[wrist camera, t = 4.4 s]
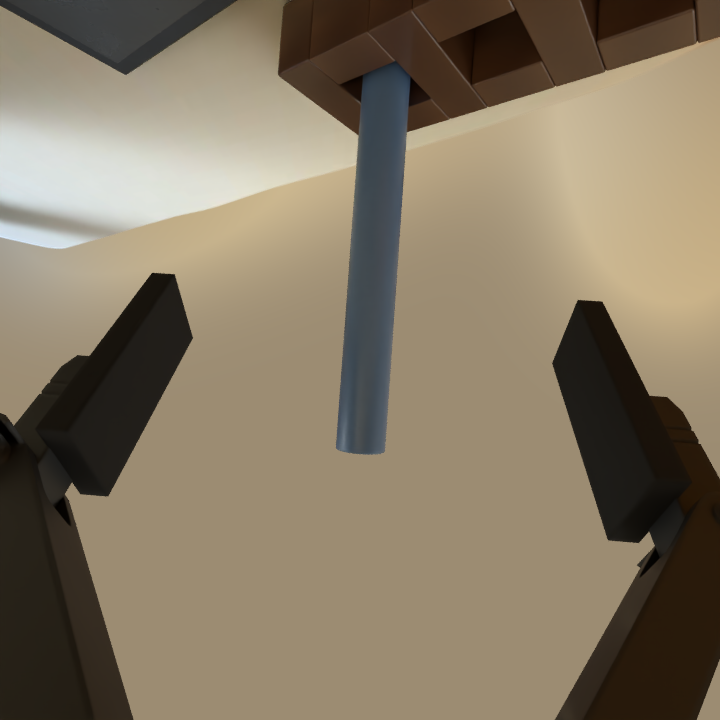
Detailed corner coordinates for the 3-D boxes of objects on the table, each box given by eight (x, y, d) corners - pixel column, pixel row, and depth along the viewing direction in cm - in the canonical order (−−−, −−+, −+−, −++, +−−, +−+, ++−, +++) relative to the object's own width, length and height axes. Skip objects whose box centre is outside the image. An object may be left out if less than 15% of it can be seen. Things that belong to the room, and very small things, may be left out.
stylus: (384, 46, 21) (355, 445, 21) (357, 17, 20) (325, 448, 19) (422, 29, 20) (394, 451, 20) (397, -3, 19) (365, 456, 18)
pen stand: (373, 87, 25) (368, 144, 24) (282, 5, 19) (276, 75, 19) (770, -68, 15) (767, 23, 15) (796, -309, 10) (791, -173, 10)
